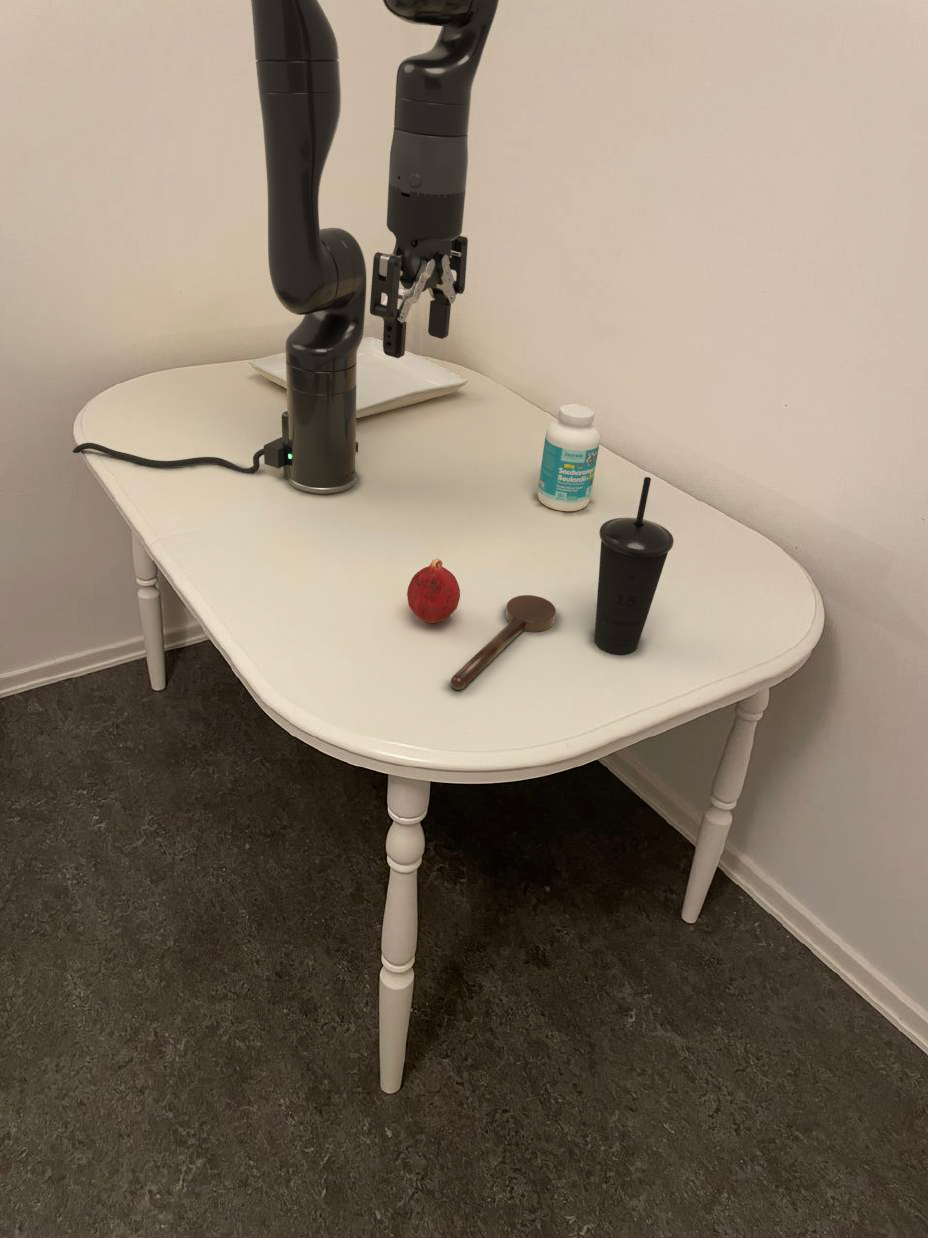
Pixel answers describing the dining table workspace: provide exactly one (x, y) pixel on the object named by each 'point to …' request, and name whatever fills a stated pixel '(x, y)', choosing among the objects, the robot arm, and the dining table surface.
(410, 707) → the dining table surface
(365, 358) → the square plate
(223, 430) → the dining table surface
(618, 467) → the dining table surface
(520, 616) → the spoon
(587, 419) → the pill bottle
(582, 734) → the dining table surface
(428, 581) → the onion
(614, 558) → the drinking cup
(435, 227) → the robot arm
